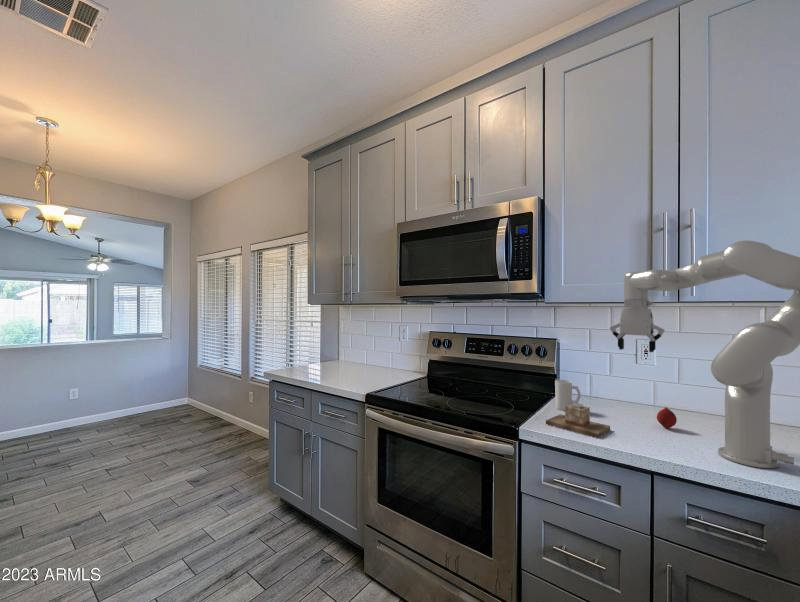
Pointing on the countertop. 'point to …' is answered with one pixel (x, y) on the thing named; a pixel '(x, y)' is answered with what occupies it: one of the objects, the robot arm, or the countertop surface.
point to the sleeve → (577, 416)
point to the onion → (666, 418)
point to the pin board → (589, 430)
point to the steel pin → (577, 405)
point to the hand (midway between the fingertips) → (636, 350)
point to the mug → (565, 394)
